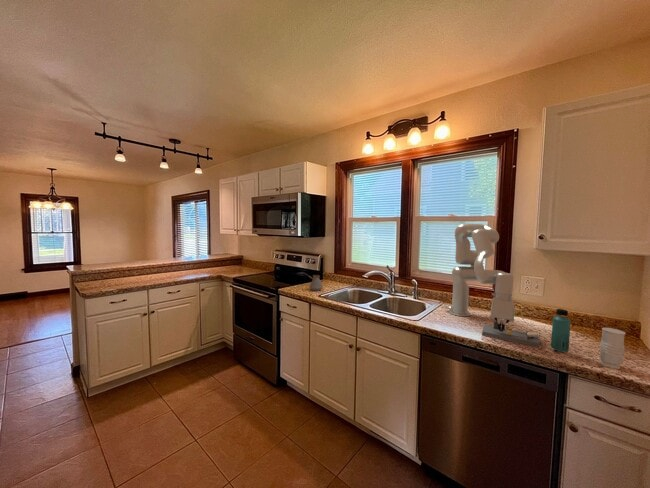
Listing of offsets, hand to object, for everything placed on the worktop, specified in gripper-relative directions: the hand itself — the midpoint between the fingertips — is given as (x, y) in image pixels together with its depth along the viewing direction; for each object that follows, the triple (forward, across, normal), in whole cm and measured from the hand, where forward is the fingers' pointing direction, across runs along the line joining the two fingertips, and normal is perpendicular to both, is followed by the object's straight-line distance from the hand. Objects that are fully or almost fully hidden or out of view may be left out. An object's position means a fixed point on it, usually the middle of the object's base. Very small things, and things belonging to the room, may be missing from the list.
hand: (501, 330), depth 139 cm
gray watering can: (+4, -141, +20) cm, 143 cm away
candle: (+4, +39, -6) cm, 39 cm away
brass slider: (+1, +3, 0) cm, 4 cm away
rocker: (0, +13, +4) cm, 14 cm away
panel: (+3, +4, +4) cm, 6 cm away
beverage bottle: (+4, +23, -3) cm, 23 cm away
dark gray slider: (+1, -2, +7) cm, 7 cm away
